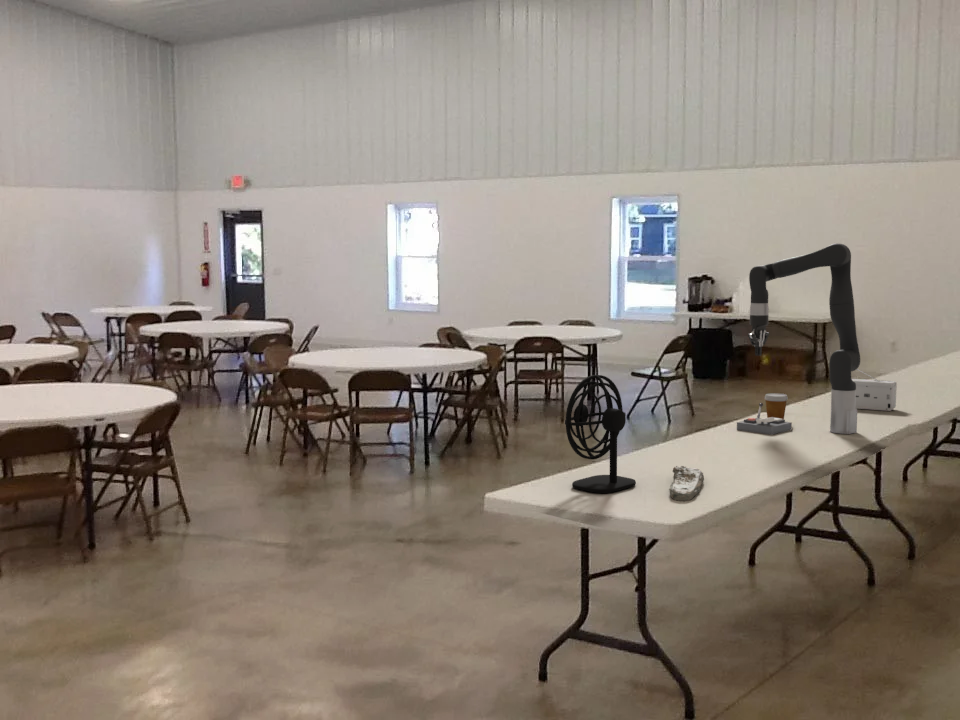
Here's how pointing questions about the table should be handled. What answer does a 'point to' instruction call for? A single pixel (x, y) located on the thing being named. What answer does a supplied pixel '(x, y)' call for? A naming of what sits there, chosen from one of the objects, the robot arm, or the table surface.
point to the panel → (764, 426)
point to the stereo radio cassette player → (875, 394)
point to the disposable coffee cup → (775, 405)
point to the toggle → (759, 410)
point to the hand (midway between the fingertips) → (758, 355)
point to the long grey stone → (685, 483)
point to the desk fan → (611, 423)
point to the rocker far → (765, 420)
